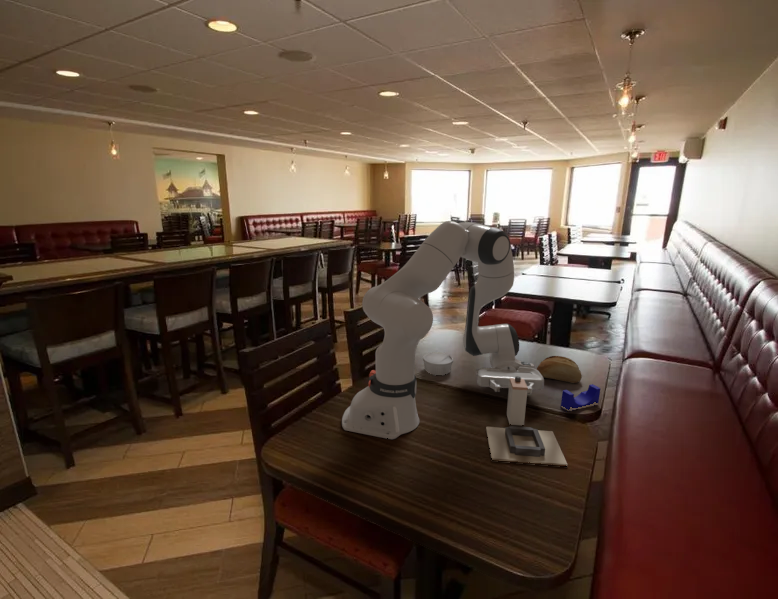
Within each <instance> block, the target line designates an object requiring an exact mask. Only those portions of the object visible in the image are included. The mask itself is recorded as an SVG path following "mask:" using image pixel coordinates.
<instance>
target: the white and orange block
mask: <svg viewBox="0 0 778 599" xmlns="http://www.w3.org/2000/svg"><path fill="white" fill-rule="evenodd" d="M527 389H528V387H527V385H526V383H525V380H524V379H521V377H518V376H517V377H515V378H510V381H509V388H508V392H507V393H508V394H507V404H506V405H507V406H506V407H507V408H506V416H507V420H508V423H509V425H510V424H511V425H510V426H522V425H524V426H525V417H526V410H527V409H526V406H527V399H528V398H527V397H528V394H527Z"/></svg>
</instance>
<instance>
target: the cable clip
mask: <svg viewBox="0 0 778 599" xmlns="http://www.w3.org/2000/svg"><path fill="white" fill-rule="evenodd" d="M600 394H601V387H599V386H597V385H595V384H593V383H592V384H589V385H588V389H587V390H584V391H581V392H580V393H579V394H578V395H576V396H575V393H572V392H571V391H569V390H568V389H563V390H562V393H561V401H560V402H561V403H560V407H561V406H563V407H565V408H566V409H568V410H569V409H570V407H572V408H578V407H582V406H586V405H590V404H593V403H594V402H596V403H598V404H599V401H600V396H601V395H600Z"/></svg>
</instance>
